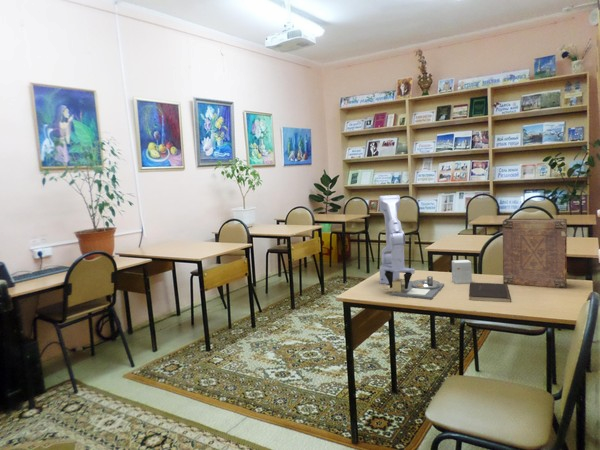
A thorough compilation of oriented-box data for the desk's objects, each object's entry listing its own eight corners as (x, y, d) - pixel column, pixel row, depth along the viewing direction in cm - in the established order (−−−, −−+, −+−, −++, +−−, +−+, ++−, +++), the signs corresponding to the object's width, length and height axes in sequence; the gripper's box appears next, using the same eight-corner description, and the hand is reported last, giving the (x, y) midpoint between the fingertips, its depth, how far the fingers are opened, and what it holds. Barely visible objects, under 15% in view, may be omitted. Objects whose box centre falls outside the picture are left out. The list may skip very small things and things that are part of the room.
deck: (391, 295, 192) (391, 293, 192) (407, 282, 212) (407, 280, 212) (431, 299, 182) (431, 297, 182) (444, 285, 203) (444, 283, 203)
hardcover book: (469, 301, 179) (468, 295, 179) (469, 287, 200) (469, 282, 200) (511, 303, 173) (511, 298, 172) (507, 288, 194) (507, 283, 193)
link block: (392, 292, 193) (392, 281, 193) (396, 288, 198) (396, 277, 198) (401, 292, 191) (400, 281, 191) (405, 289, 196) (404, 278, 196)
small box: (468, 280, 210) (468, 259, 209) (472, 283, 204) (471, 261, 203) (451, 281, 210) (451, 260, 209) (455, 283, 205) (454, 262, 204)
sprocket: (418, 290, 193) (417, 279, 192) (407, 283, 206) (406, 272, 205) (445, 287, 195) (444, 276, 194) (432, 280, 207) (432, 270, 207)
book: (566, 283, 194) (567, 218, 191) (566, 288, 186) (567, 221, 183) (505, 279, 208) (505, 218, 204) (502, 283, 200) (502, 220, 197)
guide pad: (407, 294, 189) (407, 293, 189) (412, 289, 196) (412, 287, 196) (425, 295, 185) (425, 294, 185) (430, 290, 192) (430, 289, 192)
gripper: (379, 259, 194) (380, 288, 195) (411, 261, 186) (411, 291, 188) (385, 256, 200) (386, 284, 201) (415, 258, 192) (416, 287, 193)
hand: (398, 287), depth 195 cm, fingers open, 6 cm apart
